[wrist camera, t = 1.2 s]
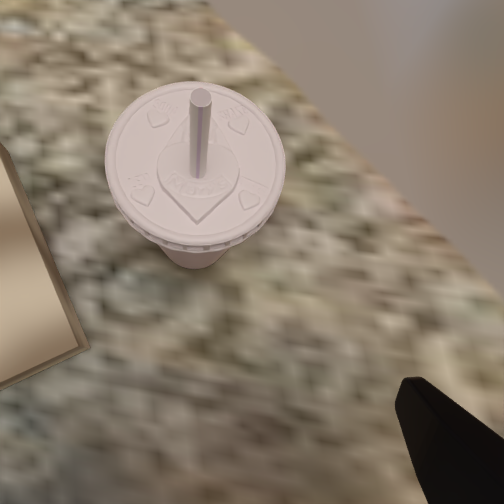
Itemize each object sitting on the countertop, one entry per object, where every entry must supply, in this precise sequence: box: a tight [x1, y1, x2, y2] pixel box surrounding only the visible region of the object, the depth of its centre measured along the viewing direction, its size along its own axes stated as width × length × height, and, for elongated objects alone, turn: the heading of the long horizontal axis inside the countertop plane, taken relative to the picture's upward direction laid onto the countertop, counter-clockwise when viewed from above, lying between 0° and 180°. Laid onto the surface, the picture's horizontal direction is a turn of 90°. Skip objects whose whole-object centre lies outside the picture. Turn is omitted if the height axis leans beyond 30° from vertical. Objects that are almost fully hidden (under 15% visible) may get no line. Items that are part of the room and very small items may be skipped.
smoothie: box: [105, 82, 285, 269], centre depth 17 cm, size 6×6×14 cm
